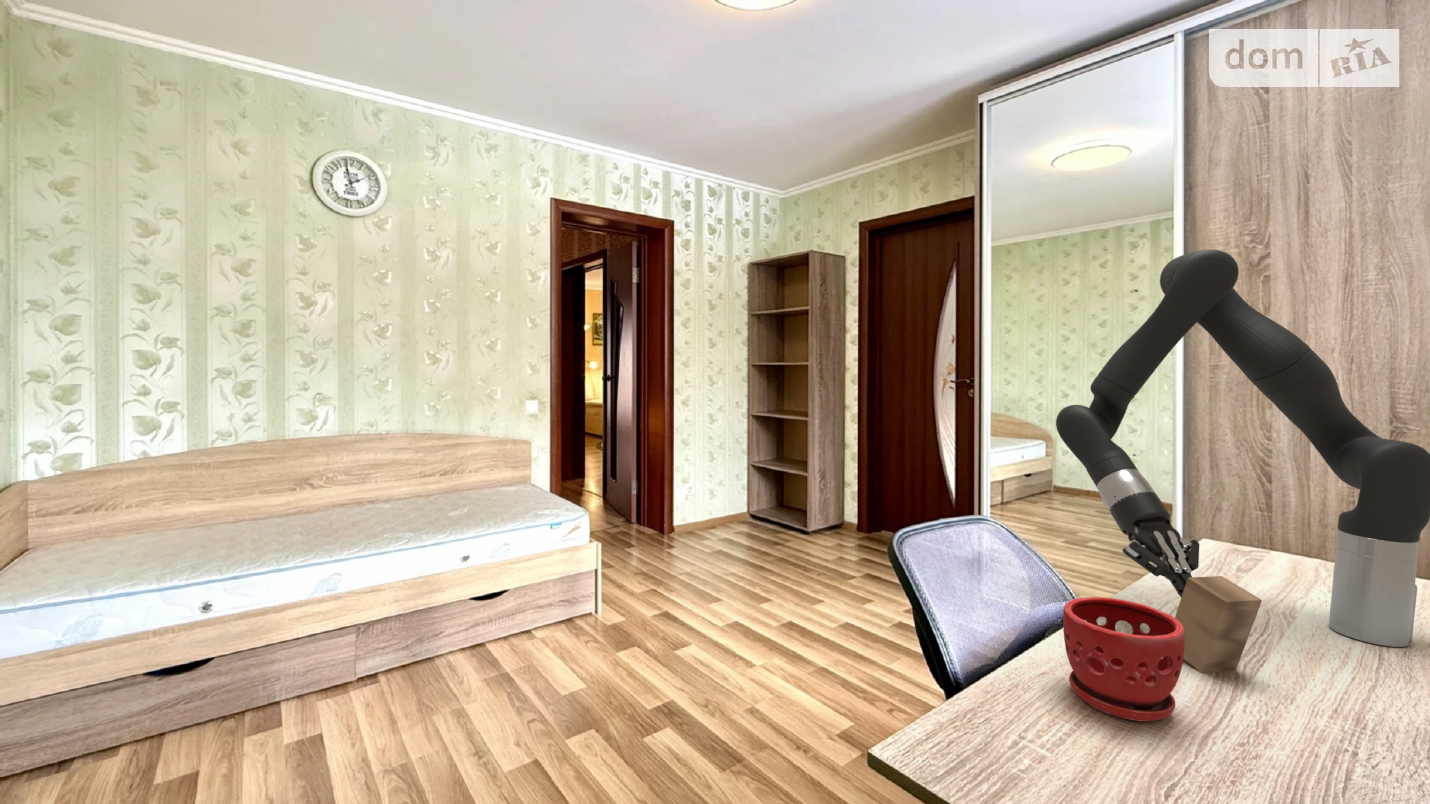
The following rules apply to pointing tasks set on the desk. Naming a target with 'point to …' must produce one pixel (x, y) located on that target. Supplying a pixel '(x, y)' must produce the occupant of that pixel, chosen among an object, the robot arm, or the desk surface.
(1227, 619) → the walnut block
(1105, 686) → the plant pot
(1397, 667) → the desk surface
